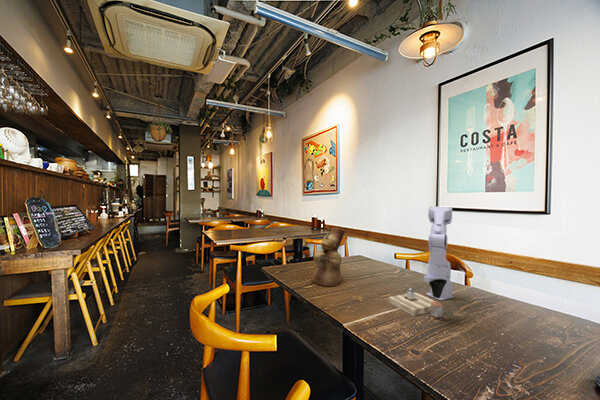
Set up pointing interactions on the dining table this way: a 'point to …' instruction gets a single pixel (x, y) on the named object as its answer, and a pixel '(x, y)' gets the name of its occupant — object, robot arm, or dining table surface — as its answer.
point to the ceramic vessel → (329, 259)
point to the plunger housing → (436, 311)
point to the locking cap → (436, 303)
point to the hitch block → (412, 304)
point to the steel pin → (410, 294)
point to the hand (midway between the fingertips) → (436, 297)
